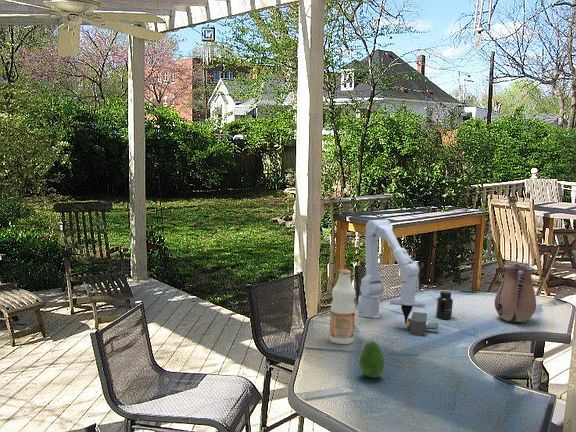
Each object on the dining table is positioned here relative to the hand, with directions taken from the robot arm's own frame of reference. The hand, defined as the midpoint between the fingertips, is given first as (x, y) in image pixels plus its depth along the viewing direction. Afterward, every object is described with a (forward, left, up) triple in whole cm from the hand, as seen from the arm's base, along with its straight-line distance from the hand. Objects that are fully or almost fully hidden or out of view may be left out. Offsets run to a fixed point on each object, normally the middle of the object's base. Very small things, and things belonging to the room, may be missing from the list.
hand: (406, 322), depth 252 cm
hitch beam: (+5, 0, -3) cm, 6 cm away
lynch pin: (+7, 0, -2) cm, 7 cm away
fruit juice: (-23, -26, -3) cm, 35 cm away
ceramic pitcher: (+46, +31, -3) cm, 56 cm away
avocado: (-7, -59, -3) cm, 59 cm away
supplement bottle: (+15, +24, -3) cm, 29 cm away
